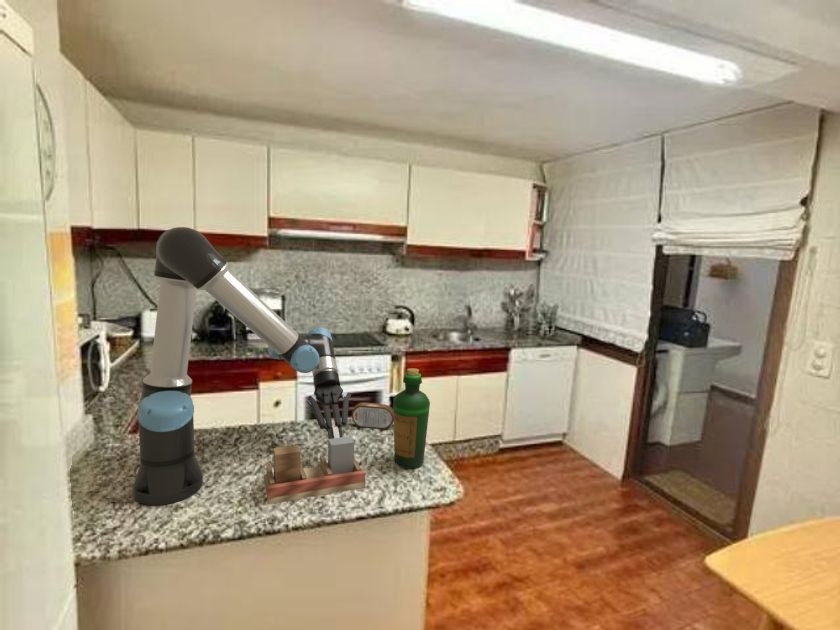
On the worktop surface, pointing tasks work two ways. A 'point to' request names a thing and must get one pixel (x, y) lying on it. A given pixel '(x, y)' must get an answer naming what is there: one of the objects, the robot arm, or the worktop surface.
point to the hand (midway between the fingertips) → (338, 450)
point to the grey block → (341, 455)
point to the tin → (373, 415)
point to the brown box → (287, 464)
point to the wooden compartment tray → (312, 482)
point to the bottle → (410, 422)
